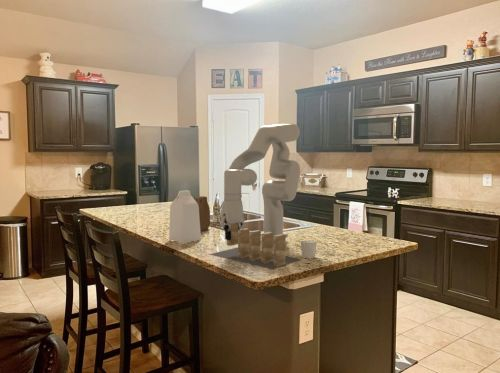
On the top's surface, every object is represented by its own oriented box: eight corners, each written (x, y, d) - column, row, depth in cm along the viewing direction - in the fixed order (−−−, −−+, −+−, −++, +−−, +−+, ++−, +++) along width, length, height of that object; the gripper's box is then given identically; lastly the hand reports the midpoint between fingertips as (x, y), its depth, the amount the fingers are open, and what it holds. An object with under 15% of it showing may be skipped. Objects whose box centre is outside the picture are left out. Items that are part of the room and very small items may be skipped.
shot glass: (301, 255, 182) (301, 239, 182) (317, 256, 180) (317, 240, 180) (299, 259, 176) (299, 243, 175) (315, 260, 174) (315, 244, 173)
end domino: (226, 245, 180) (226, 218, 179) (234, 243, 184) (234, 216, 183) (230, 245, 179) (230, 218, 178) (238, 244, 182) (238, 217, 182)
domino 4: (273, 265, 163) (273, 235, 162) (281, 263, 167) (281, 233, 166) (277, 266, 162) (277, 236, 161) (285, 263, 166) (285, 234, 165)
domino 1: (238, 257, 176) (238, 229, 175) (246, 255, 180) (246, 228, 179) (241, 258, 175) (241, 230, 174) (249, 256, 179) (249, 228, 178)
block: (198, 232, 238) (198, 197, 236) (189, 230, 242) (189, 196, 241) (211, 229, 246) (211, 196, 244) (203, 228, 251) (202, 195, 249)
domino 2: (249, 260, 172) (249, 231, 171) (257, 257, 176) (257, 230, 175) (253, 260, 171) (252, 232, 170) (260, 258, 174) (260, 230, 173)
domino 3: (261, 262, 168) (261, 233, 167) (269, 260, 171) (269, 231, 170) (265, 263, 166) (265, 234, 165) (272, 261, 170) (272, 232, 169)
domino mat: (240, 248, 197) (240, 246, 197) (302, 260, 173) (302, 259, 173) (209, 255, 182) (209, 254, 182) (272, 270, 158) (272, 269, 158)
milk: (182, 243, 207) (182, 192, 205) (169, 240, 214) (168, 191, 212) (201, 240, 216) (200, 190, 214) (187, 237, 223) (186, 189, 221)
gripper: (239, 195, 189) (239, 235, 190) (212, 198, 176) (212, 240, 177) (252, 197, 184) (251, 237, 185) (224, 199, 171) (224, 242, 172)
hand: (232, 238), depth 181 cm, fingers closed on end domino, 4 cm apart
